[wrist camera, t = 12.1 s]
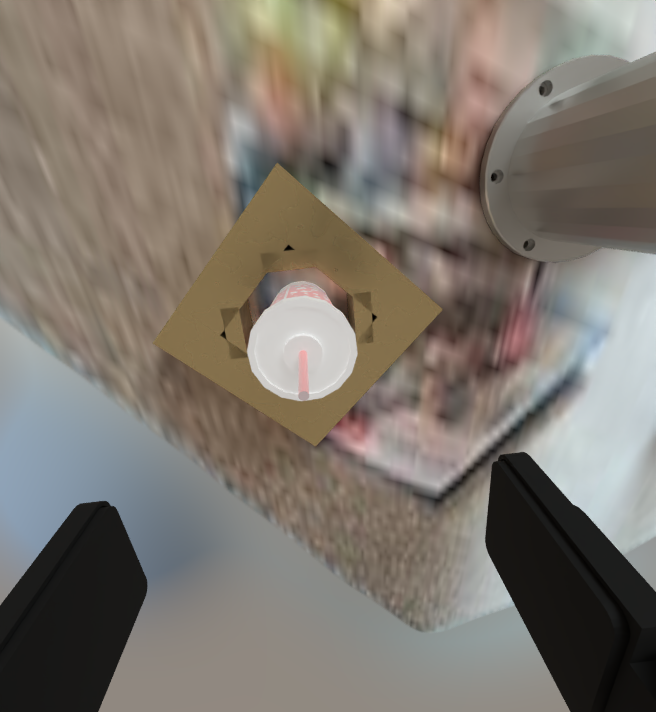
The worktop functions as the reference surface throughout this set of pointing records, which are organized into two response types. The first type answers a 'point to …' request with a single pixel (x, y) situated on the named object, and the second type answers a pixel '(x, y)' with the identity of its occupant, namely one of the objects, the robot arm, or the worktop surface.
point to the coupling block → (288, 252)
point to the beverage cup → (302, 344)
